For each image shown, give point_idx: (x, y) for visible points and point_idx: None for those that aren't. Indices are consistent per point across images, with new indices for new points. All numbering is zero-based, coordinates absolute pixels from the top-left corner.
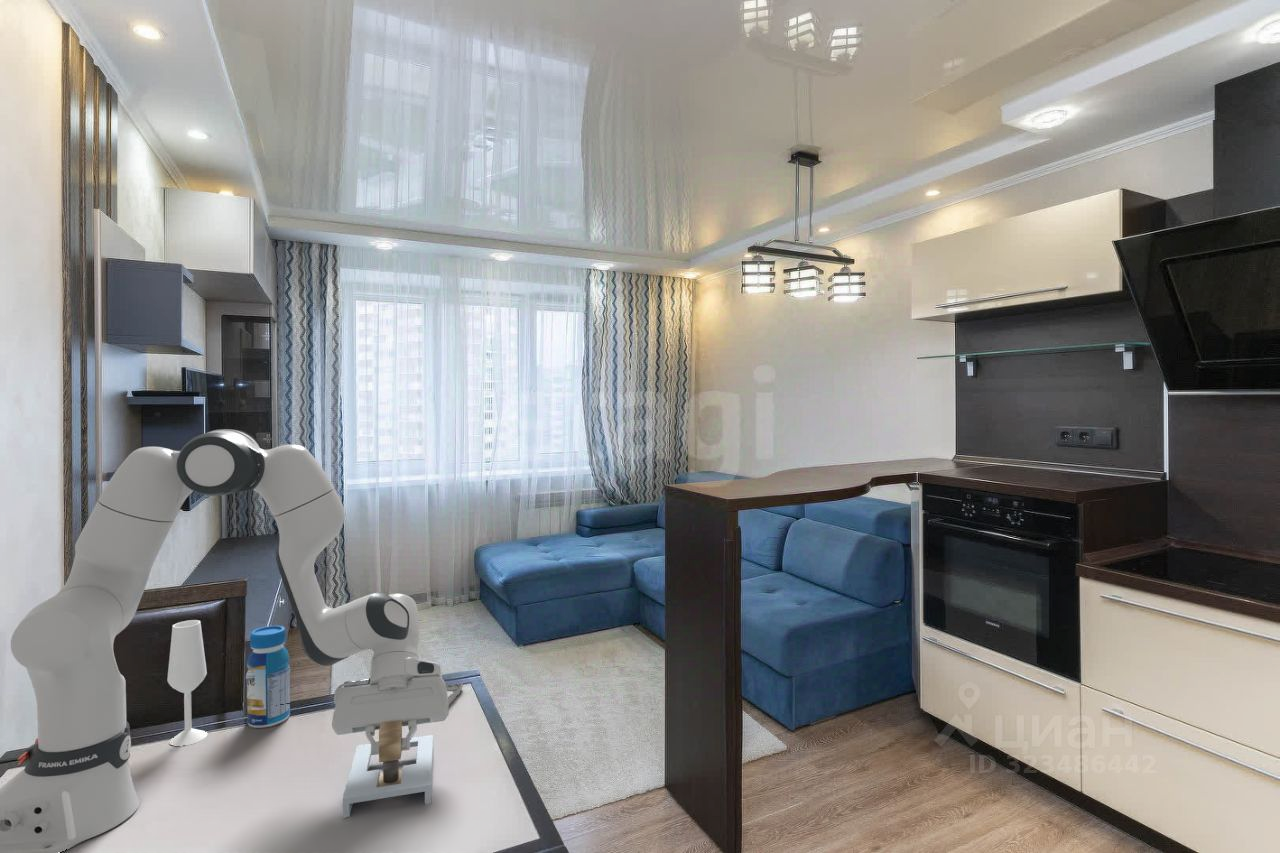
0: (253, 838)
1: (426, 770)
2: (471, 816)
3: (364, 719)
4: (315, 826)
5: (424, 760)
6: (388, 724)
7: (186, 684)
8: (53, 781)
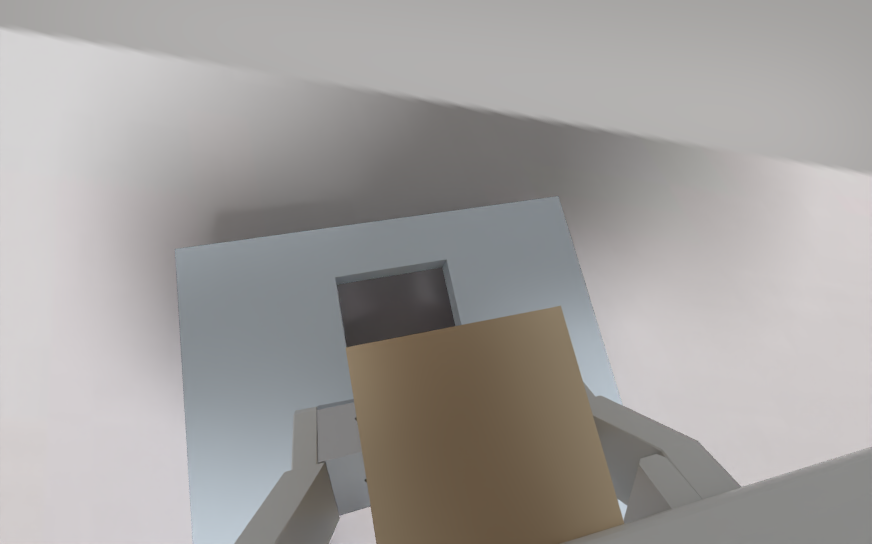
0: (746, 168)
1: (214, 392)
2: (25, 166)
3: (839, 514)
4: (598, 196)
5: (241, 514)
6: (518, 474)
7: None
8: None
